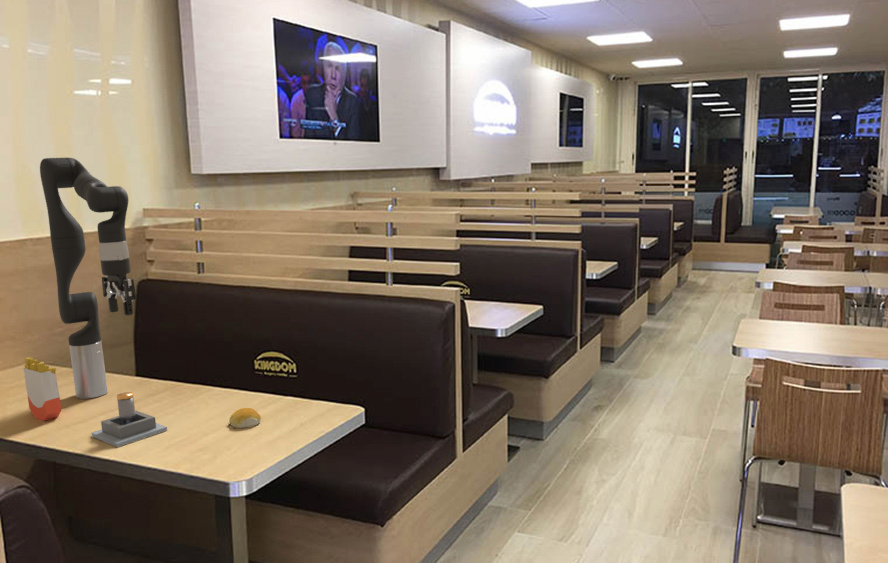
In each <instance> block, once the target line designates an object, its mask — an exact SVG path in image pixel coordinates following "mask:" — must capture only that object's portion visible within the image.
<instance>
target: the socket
mask: <svg viewBox="0 0 888 563" xmlns="http://www.w3.org/2000/svg"><path fill="white" fill-rule="evenodd" d="M135 415H136V421H135V422H132V423H129V424H126V425H123V426H121V425H120V418H119V415H118V416H114V417H111V418H107V419H104V420H101V421H100V424H101V425H100V426H101V429H99V430H96V431H93V432H91V437H92V438H96V439H97V440H100V441H102V442H105V443H106V444H109V445H111V446H113V445H114V447H115V448H119V446H120V447H123V446H126V445H128V444H131V442H132V443H134V441H135V442H137V441H140V440H143V439H145V438H149V437H152V436H156V435H158V434H160V433H161V434H162V433H164V432H166V431H168V427H167V426H165V425H163V424H160V423H158V422H156V416H153V415H150V414H147V413H144V412H141V411H138V410H135ZM125 444H126V445H125ZM122 445H123V446H122Z"/></svg>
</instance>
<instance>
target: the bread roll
mask: <svg viewBox="0 0 888 563" xmlns="http://www.w3.org/2000/svg"><path fill="white" fill-rule="evenodd" d="M261 420H262V416H261V414H259V413H258V412H257V411H256V410H255V409H254V408H251V407H242V408H239V409H237V410H235V411H234V412H233V413H232V414H231V415H230V417H229V420H228V421H229V422H228V423H229V424H230V426H232V427H233V428H235V429H245V428H252V427H254V426H257V425H258V424H260V422H261Z"/></svg>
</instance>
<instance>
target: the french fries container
mask: <svg viewBox="0 0 888 563" xmlns="http://www.w3.org/2000/svg"><path fill="white" fill-rule="evenodd" d="M24 362H25V363H24V367H23V374H24V380H25V381H24V382H25V389H26V395H27V400H28V408H29V410H30V412H31V414H32V415H33V417H34V418H35V419H37V420H40V421H41V422H42V421H43V422H45V421H47V420H51V419H55V418H57V417H60V414H61V412H62V404H61V397H60V390H59V386H58V380H57V375H56V370H57V369H56V367H51V368H50V365H47V364H45V362H44V361H38V359H34V358H32V357H31V356H30V357H29V356H28V357H24Z"/></svg>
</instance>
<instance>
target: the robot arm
mask: <svg viewBox="0 0 888 563" xmlns="http://www.w3.org/2000/svg"><path fill="white" fill-rule="evenodd" d="M39 176H40V181H41V185H42V190H43V195H44V199H45V203H46V209H47V216H48V224H49V225H48V226H49V234H50V236H49V237H50V243H51V250H52V254H53V255H52V256H53V262H54V268H55V275H56V283H57V284H56V285H57V300H58V311H59V316H60V317H59V318H60V319H61V321H62V323H63V324H65V325H69V324H76V323H77V324H78V323H83V322H84V323H85V322H86V324H85V326H83V327H82V328H80V329H78V330H77V331H75V332H73V333H71V334H70V335H69V336H68V344H69V345H68V347H69V353H70V360H71V361H70V362H71V366H72V367H71V368H72V369H71V370H72V376H73V383H74V384H73V385H74V392H75V398H77V399H81V400H82V399H84V400H85V399H93V398H94V399H95V398H97V397H101V396H105V395H106V394H108V385H107V376H106V369H105V367H106V366H105V358H104V351H103V343H102V338H101V337H102V336H101V329H100V318H99V317H100V316H99V303H98V298H97V296H96V294H95V293H94V292H93V291H85V292H75V293H71V294H70V287H71V283H72V280H73V278H74V275H75V273H76V271H77V269H78V267H79V266H80V264H81V263H82V260H84V259H83V258H84V257H85V254H86V251H87V250H86V242H85V235H84V234H85V232H84V230H83V228H82V226H81V224H80V223H79V222H78V221H77V219H76V218H75V217H74V216H73V214H72V213H71V212H70V211H69V210H68V209H67V208H66V206H65V204H64V202H63V201H62V199H61V196H60V192H59V189H68V188H69V189H71V188H73V189H74V191H75V193H76V194H77V196H79V197H80V198H81V199H83V200H85V201H86V203H87V206H88V209H89V210H90V211H92V212H94V213H100V214H101V213H108V212H109V213H112V215H111V217H110V218H108V219H105V220H103V221H100V222H98V223H97V236H98V242H99V243H98V244H99V245H98V246H99V248H98V250H99V251H98V252H99V259H100V267H101V274H102V275H103V276H102V277H101V287H102V295H103V298H106V300H108V301H107V302H108V308H109V312H110V313H117V312H119V306H118V298H117V297H120V298H121V300H122V302H123V303H122V304H123V306H122V307H123V312H124V315H125V316H130V315H131V316H132V315H133V313H134V309H133V302H134V300H136V299H137V296H136V295H137V294H136V289H135V288H136V287H135V281H134V279H133V278H128V277H127V274H131V270H132V269H131V262H130V253H129V246H128V243H127V235H126V219H127V218H126V217H127V213H128V212H127V211H128V208H129V195H128V192H127V191H126V189H125V188H124V187H122V186H121V185H118V186H117V185H112V186H108V185H106V183H105V182H103V181H102V180H101V179H98V178H97V177H95V176H93V175H92V174H91V173H90V172H89V171H88V169H87V168H86V167H85V166H84V165H83V164H82V163H81V162H80V161H79V160H78V159H76V158H74V157H46V158H42V159H41V161H40V164H39Z"/></svg>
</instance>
